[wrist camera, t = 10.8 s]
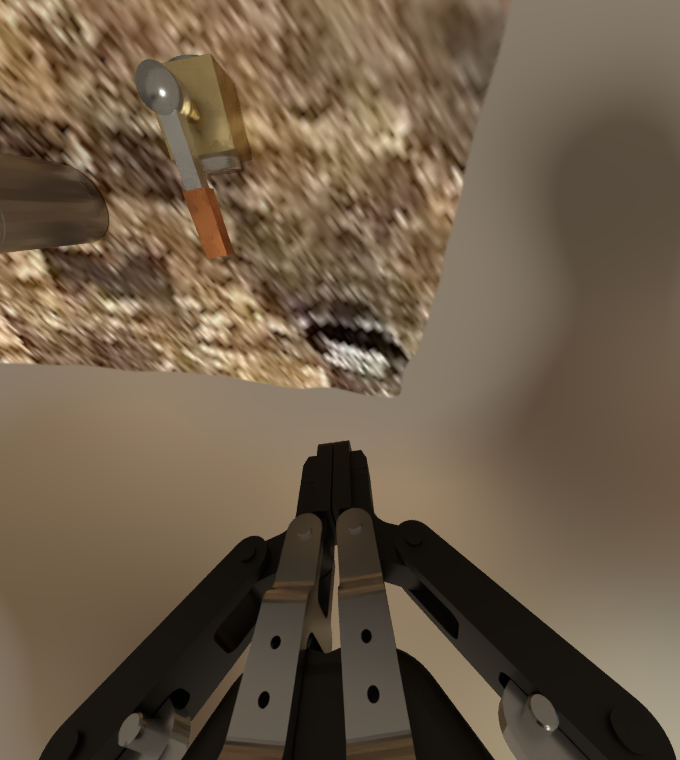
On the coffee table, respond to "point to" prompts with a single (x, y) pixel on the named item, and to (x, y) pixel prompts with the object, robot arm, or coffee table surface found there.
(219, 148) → the valve housing
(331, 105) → the coffee table surface
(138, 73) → the valve lever
